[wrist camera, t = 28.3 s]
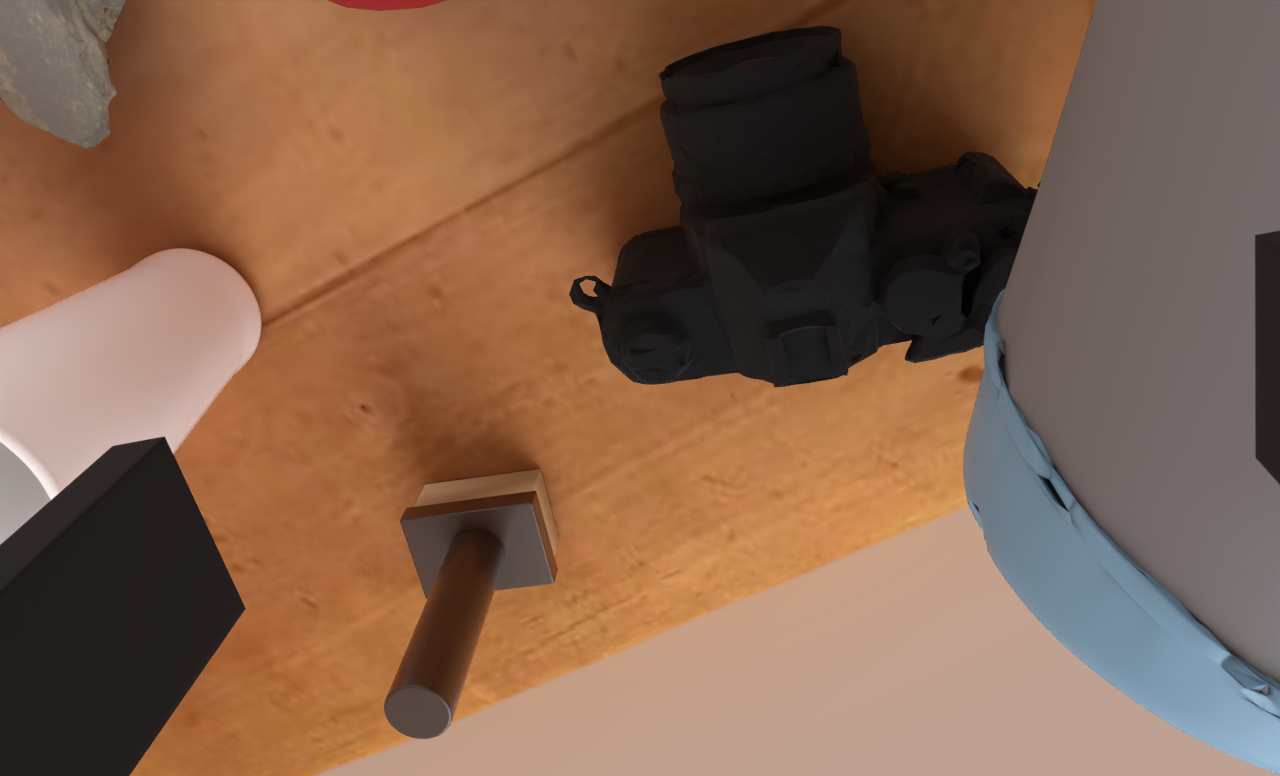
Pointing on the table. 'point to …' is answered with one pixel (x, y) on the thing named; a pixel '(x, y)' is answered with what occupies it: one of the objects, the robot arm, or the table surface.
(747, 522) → the table surface
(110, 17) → the grey rock
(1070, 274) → the robot arm
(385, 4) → the apple
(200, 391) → the drinking glass
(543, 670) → the table surface
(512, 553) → the brush
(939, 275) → the film camera
